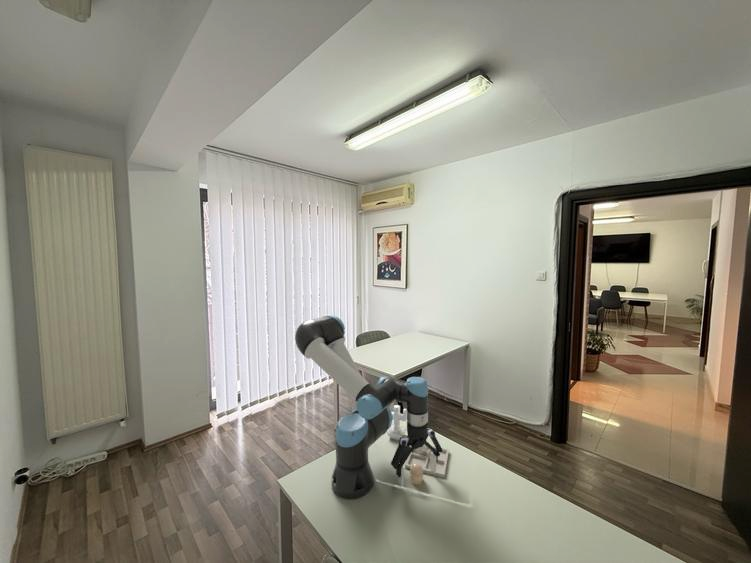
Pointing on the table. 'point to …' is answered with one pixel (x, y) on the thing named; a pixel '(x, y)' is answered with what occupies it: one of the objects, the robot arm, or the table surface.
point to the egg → (416, 474)
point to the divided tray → (425, 461)
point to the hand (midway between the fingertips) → (417, 478)
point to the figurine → (397, 423)
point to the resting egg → (421, 450)
